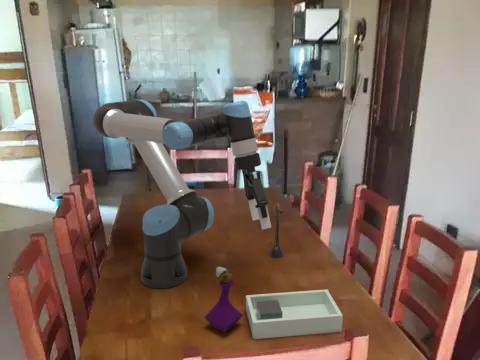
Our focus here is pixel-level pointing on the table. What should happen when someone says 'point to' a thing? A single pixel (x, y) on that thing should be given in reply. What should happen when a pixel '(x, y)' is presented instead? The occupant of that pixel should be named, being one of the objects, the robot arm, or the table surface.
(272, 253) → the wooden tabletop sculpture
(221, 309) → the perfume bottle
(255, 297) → the tray
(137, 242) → the table surface
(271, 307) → the block
